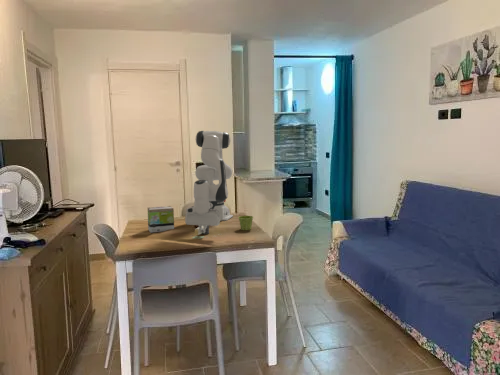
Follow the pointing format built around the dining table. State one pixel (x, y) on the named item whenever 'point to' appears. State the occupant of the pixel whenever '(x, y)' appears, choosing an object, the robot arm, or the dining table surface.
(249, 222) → the plant pot
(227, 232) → the dining table surface
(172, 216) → the tea box
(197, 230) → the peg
